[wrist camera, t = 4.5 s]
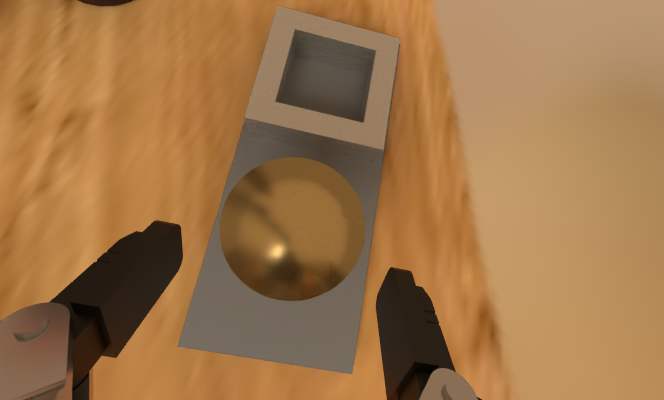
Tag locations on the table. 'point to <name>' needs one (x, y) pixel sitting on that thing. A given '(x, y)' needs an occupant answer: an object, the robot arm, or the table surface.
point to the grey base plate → (276, 315)
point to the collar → (334, 50)
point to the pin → (292, 229)
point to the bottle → (105, 2)
